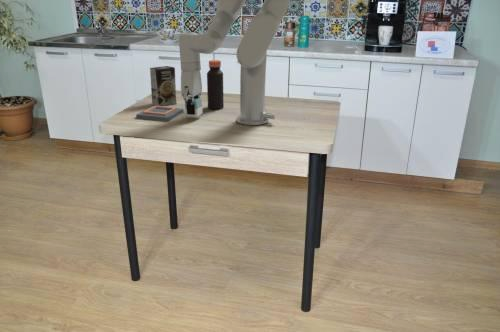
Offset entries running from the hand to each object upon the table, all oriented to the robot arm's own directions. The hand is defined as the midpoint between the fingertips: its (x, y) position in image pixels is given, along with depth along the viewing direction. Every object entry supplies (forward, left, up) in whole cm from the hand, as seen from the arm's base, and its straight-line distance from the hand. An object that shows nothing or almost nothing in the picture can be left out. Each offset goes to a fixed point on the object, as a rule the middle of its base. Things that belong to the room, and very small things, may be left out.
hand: (194, 111), depth 186 cm
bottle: (-2, -18, -3) cm, 18 cm away
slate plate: (+15, 0, -3) cm, 15 cm away
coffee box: (+22, -17, -3) cm, 28 cm away
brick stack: (0, 0, -1) cm, 1 cm away
